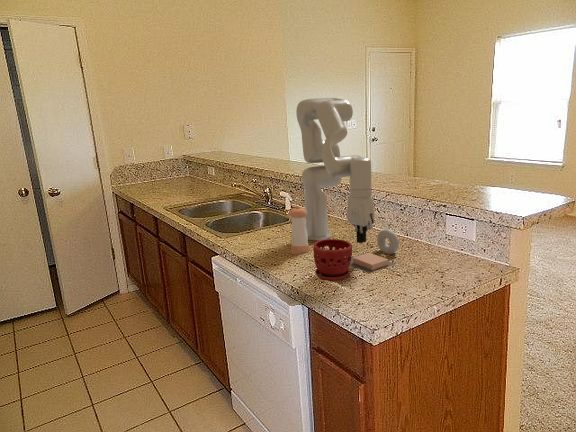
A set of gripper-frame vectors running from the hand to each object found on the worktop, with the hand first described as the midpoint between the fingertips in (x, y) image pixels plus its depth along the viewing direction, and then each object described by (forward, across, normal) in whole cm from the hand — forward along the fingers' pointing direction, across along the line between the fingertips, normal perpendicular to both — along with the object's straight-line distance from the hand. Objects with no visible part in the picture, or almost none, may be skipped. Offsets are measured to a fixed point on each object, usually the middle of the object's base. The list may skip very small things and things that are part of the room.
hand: (361, 241), depth 161 cm
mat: (+8, +2, 0) cm, 8 cm away
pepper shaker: (+8, -26, -10) cm, 29 cm away
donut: (+8, 0, +14) cm, 16 cm away
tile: (+6, 0, 0) cm, 6 cm away
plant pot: (+8, +3, -16) cm, 19 cm away
